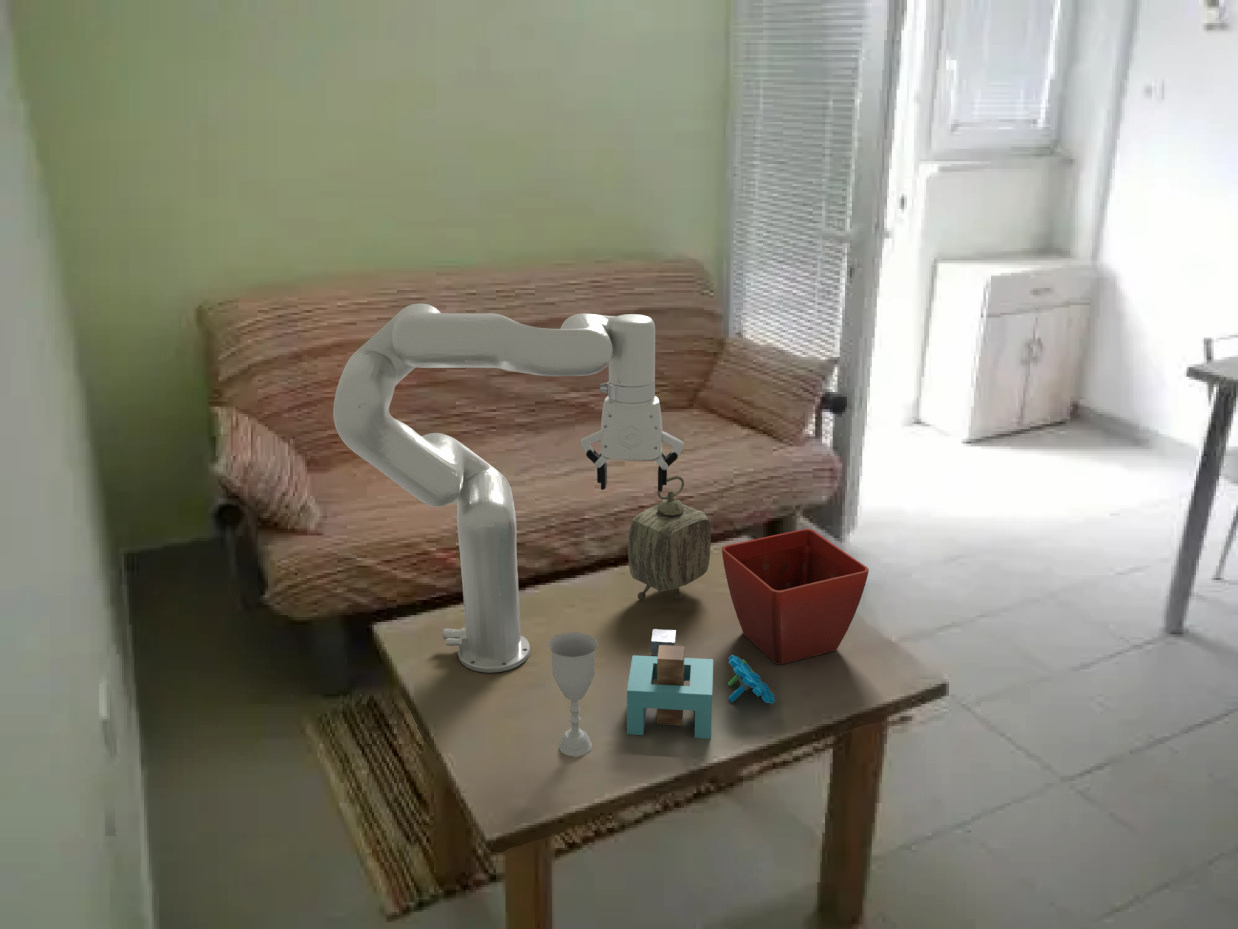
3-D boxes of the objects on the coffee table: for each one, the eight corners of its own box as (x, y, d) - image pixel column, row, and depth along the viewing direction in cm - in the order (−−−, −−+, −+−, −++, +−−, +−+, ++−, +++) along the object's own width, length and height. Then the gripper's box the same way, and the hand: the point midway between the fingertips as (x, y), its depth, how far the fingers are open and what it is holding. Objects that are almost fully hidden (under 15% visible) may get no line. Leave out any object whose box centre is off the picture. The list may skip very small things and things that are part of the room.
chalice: (547, 757, 156) (543, 654, 149) (557, 730, 162) (554, 630, 155) (594, 762, 154) (592, 659, 148) (603, 735, 161) (601, 634, 154)
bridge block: (627, 734, 161) (627, 690, 158) (632, 697, 170) (632, 655, 167) (710, 738, 160) (712, 694, 157) (711, 701, 169) (713, 659, 166)
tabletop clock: (679, 576, 210) (681, 461, 201) (712, 591, 204) (716, 474, 194) (628, 600, 201) (627, 481, 191) (661, 617, 194) (662, 495, 185)
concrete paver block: (651, 671, 177) (651, 641, 175) (652, 659, 181) (652, 629, 179) (674, 672, 177) (674, 642, 175) (675, 660, 181) (675, 630, 178)
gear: (784, 708, 164) (740, 669, 162) (757, 733, 165) (713, 694, 163) (769, 677, 175) (728, 640, 173) (744, 701, 176) (703, 665, 174)
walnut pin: (656, 724, 163) (657, 658, 159) (658, 709, 167) (659, 645, 163) (682, 725, 163) (683, 660, 158) (683, 710, 167) (684, 646, 162)
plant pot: (716, 627, 191) (719, 545, 185) (804, 606, 198) (810, 526, 192) (770, 680, 175) (775, 592, 168) (864, 656, 181) (872, 570, 175)
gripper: (576, 396, 166) (578, 494, 172) (684, 399, 164) (682, 498, 171) (582, 383, 173) (584, 477, 179) (685, 385, 171) (684, 480, 178)
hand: (632, 487), depth 175 cm, fingers open, 9 cm apart
